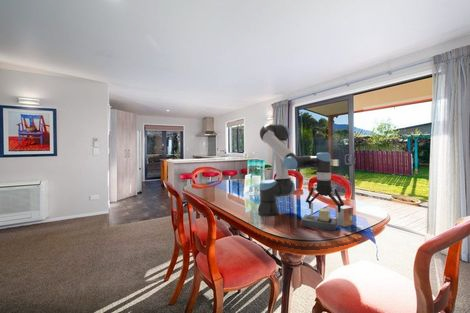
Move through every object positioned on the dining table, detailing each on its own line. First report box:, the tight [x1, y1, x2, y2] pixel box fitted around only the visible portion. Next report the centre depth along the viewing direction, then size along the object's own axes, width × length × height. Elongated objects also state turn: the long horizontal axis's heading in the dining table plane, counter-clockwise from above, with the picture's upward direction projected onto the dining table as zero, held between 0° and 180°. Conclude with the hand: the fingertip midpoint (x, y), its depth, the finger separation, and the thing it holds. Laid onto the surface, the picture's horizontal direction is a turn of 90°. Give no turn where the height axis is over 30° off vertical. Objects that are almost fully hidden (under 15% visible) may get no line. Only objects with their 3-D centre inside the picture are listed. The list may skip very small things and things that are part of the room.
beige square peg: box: [318, 207, 331, 223], centre depth 118 cm, size 5×5×10 cm
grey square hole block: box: [300, 214, 338, 233], centre depth 120 cm, size 18×10×4 cm, turn 58°
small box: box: [335, 204, 354, 228], centre depth 121 cm, size 8×6×10 cm
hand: (324, 216), depth 118 cm, fingers open, 13 cm apart
